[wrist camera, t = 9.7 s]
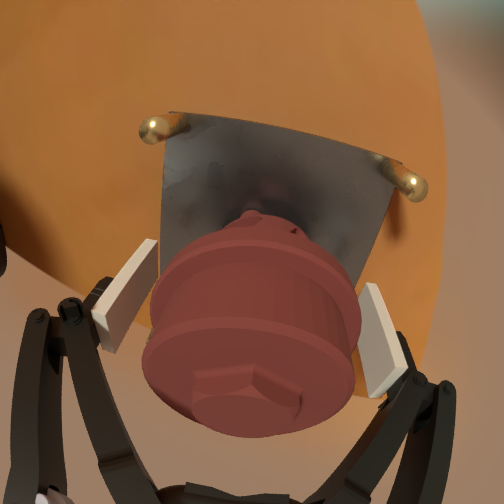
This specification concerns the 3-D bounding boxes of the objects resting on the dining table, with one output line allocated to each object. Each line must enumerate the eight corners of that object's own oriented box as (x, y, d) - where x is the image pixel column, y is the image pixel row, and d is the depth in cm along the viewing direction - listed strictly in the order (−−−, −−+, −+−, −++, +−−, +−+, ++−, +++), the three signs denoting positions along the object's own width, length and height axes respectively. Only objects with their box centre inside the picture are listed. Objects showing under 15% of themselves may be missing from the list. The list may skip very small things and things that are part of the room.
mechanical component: (363, 248, 18) (270, 326, 23) (253, 150, 16) (169, 257, 20) (427, 402, 8) (258, 468, 12) (194, 243, 5) (88, 393, 10)
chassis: (163, 311, 24) (146, 347, 20) (172, 111, 15) (140, 116, 12) (323, 342, 24) (328, 381, 21) (399, 161, 16) (431, 181, 12)
